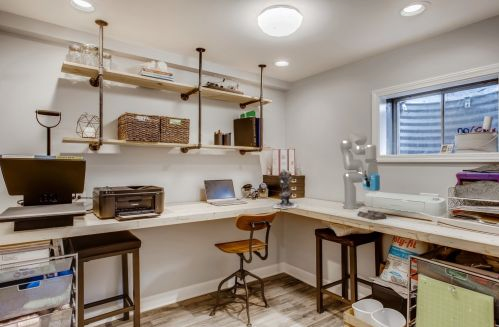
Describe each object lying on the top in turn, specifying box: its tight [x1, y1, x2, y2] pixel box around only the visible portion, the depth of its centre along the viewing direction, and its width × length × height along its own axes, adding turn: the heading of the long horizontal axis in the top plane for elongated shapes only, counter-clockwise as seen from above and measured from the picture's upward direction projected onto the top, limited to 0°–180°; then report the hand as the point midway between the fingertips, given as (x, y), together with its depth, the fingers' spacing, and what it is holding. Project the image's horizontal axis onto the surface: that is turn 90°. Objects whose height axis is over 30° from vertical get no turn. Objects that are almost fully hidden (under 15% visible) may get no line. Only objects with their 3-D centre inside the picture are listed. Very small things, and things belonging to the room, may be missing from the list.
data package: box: [362, 173, 381, 192], centre depth 212 cm, size 12×4×12 cm, turn 23°
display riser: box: [356, 209, 387, 221], centre depth 212 cm, size 16×12×4 cm
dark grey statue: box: [271, 169, 299, 210], centre depth 266 cm, size 22×25×35 cm
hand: (371, 186), depth 212 cm, fingers closed on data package, 4 cm apart
